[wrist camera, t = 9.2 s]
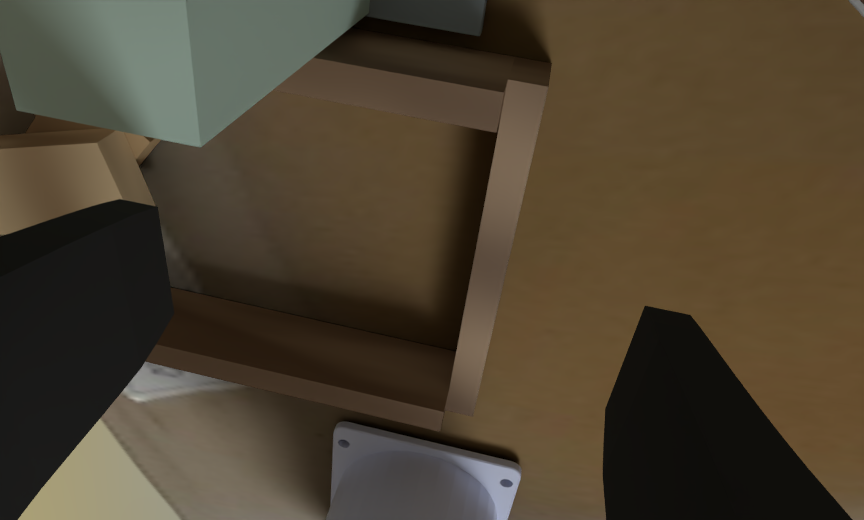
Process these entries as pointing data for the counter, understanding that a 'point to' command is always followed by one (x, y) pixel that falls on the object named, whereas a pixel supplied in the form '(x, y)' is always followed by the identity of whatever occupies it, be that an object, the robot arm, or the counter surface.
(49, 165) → the offcut top
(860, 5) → the food container
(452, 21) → the slate mat
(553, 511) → the counter surface
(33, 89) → the sage panel
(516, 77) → the walnut rack
